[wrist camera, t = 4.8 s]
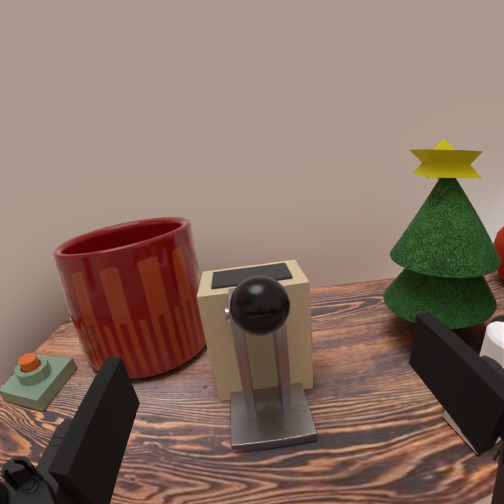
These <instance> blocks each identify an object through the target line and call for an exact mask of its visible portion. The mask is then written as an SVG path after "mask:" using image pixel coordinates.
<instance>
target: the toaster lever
mask: <svg viewBox="0 0 504 504" xmlns="http://www.w3.org/2000/svg"><path fill="white" fill-rule="evenodd" d="M230 312H231V316H232V318H233V320H234V322H235V323H236V325H237V326H238V327H239V328H240V329H241V330H243V331H244V332H246V333H248V334H251V335H256V336H264V335H269V334H272V333H274V332H276V331H277V330H279V329H280V328H281V327H282V326H283V325H284V323H285V322H286V320H287V318H288V316H289V312H290V299H289V296H288V293H287V291H286V290H285V288H284V287H283V286H282V285H281V284H280V283H279V282H278V281H276V280H275V279H273V278H270V277H267V276H253V277H250V278H247V279H245V280H244V281H242V282H241V283H240V284H239V285H238V286H237V287H236V288H235V290H234V291H233V293H232V296H231V299H230Z"/></svg>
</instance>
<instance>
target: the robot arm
mask: <svg viewBox="0 0 504 504" xmlns="http://www.w3.org/2000/svg"><path fill="white" fill-rule="evenodd" d="M409 364H410V365H411V367H412V368H413V369H414V370H415V372H416V373H417V374H418V375H419V377H420V378H421V379H422V380H423V382H424V383H425V384H426V385H427V387H428V388H429V389H430V391H431V392H432V393H433V394H434V396H435V397H436V398H437V400H438V401H439V402H440V404H441V405H442V406H443V408H444V409H445V410H446V411H447V413H448V414H449V415H450V417H451V418H452V419H453V421H454V422H455V423H456V425H457V426H458V427H459V429H460V430H461V432H462V433H463V434H464V436H465V437H466V438H467V440H468V441H469V442H470V444H471V445H472V447H473V448H474V449H475V451H476V452H477V454H478V455H481V454H482V453H484V452H486V451H488V450H489V449H491V448H493V447H494V445H495V443H496V442H497V440H498V438H499V437H500V438H501V440H502V441H503V442H502V444H501V446H500V447H499V449H498V450H497V452H496V454H495V455H494V458H493V460H495V459H496V458H497V456H498V455H499V462H498V469H497V475H496V481H495V487H494V492H493V497H492V502H491V504H504V368H502V366H501V365H500V364H499V363H498V362H497V361H496V360H494V359H492V358H490V357H488V356H486V355H484V356H481V357H480V356H479V355H478V354H477V353H476V352H475V351H474V350H473V349H472V348H470V347H469V346H468V345H467V344H466V343H465V342H464V341H463V340H462V339H460V338H459V337H458V336H457V335H456V334H455V333H454V332H452V331H451V330H450V329H449V328H448V327H447V326H446V325H444V324H443V323H442V322H441V321H440V320H439V319H437V318H436V317H435V316H434V315H433V314H432V313H430V312H426V313H422V314H418V315H416V319H415V327H414V334H413V341H412V348H411V354H410V360H409ZM139 404H140V402H139V400H138V398H137V395H136V393H135V390H134V388H133V386H132V383H131V381H130V378H129V375H128V373H127V370H126V368H125V365H124V362H123V360H122V357H106V359H105V361H104V362H103V364H102V366H101V368H100V369H99V371H98V373H97V375H96V377H95V379H94V380H93V382H92V384H91V386H90V388H89V390H88V391H87V393H86V395H85V397H84V399H83V401H82V403H81V405H80V406H79V408H78V410H77V412H76V414H75V416H74V418H73V419H65V420H64V421H63V422H62V423H61V424H60V425H59V426H58V427H57V428H56V430H55V432H54V434H53V438H51V440H50V442H49V446H47V448H46V450H45V452H44V453H43V455H42V457H41V459H40V461H39V464H38V466H37V468H35V467H34V466H33V465H32V463H31V462H30V461H29V460H28V459H26V458H24V457H15V458H12V459H10V460H8V461H7V462H6V463H5V464H4V466H3V468H2V473H1V476H2V477H3V478H4V479H5V481H6V482H1V481H0V504H110V502H111V498H112V494H113V491H114V487H115V483H116V480H117V476H118V473H119V469H120V466H121V462H122V459H123V455H124V452H125V449H126V445H127V442H128V439H129V436H130V432H131V429H132V426H133V423H134V419H135V416H136V413H137V410H138V407H139Z"/></svg>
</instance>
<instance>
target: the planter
mask: <svg viewBox="0 0 504 504" xmlns="http://www.w3.org/2000/svg"><path fill="white" fill-rule="evenodd" d="M53 257H54V261H55V265H56V269H57V273H58V277H59V280H60V284H61V287H62V290H63V294H64V297H65V300H66V303H67V307H68V310H69V312H70V316H71V319H72V322H73V324H74V327H75V330H76V333H77V335H78V338H79V341H80V343H81V346H82V348H83V351H84V353H85V356H86V358H87V360H88V362H89V364H90V365H91V366H92V367H93V368H94V369H95V370H97V371H99V369H100V368H101V366H102V364H103V362H104V361H105V359H106V357H122V360H123V362H124V365H125V368H126V370H127V373H128V375H129V378H130V379H140V378H146V377H152V376H156V375H160V374H163V373H166V372H168V371H171V370H173V369H175V368H177V367H179V366H181V365H183V364H185V363H186V362H188V361H189V360H191V359H192V358H193V357H194V356H196V355H197V354H198V353H199V352H200V351H201V350H202V348H203V347H204V346H205V344H206V339H205V334H204V330H203V325H202V320H201V315H200V311H199V306H198V301H197V294H198V290H199V286H200V281H201V278H200V272H199V267H198V261H197V255H196V250H195V244H194V239H193V233H192V227H191V222H190V220H188V219H186V218H181V217H162V218H152V219H144V220H138V221H132V222H127V223H122V224H118V225H113V226H110V227H106V228H102V229H99V230H95V231H92V232H89V233H86V234H83V235H80V236H78V237H75V238H73V239H70V240H68V241H66V242H64V243H63V244H61V245H59V246H58V247H57V248H56V249H55V250H54V251H53Z"/></svg>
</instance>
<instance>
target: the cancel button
mask: <svg viewBox="0 0 504 504" xmlns="http://www.w3.org/2000/svg"><path fill="white" fill-rule="evenodd" d="M19 365H20V367H21V369H22V371H23V372H24V373H27V372H32V371H34V370H36V369H37V368H38V367H39V366H40V362H39V360H38V358H37V356H36V354H35V353H28V354H25V355H24V356H22V357H21V358H20V359H19Z"/></svg>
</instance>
